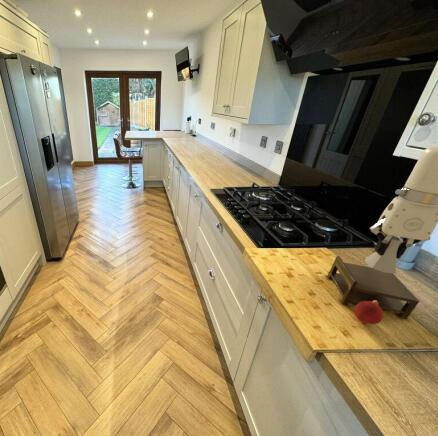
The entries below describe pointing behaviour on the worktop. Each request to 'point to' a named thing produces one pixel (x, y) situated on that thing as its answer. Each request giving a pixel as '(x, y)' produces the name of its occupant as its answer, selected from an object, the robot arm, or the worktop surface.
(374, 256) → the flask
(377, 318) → the onion
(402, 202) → the robot arm
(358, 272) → the wooden step stool
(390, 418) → the worktop surface
